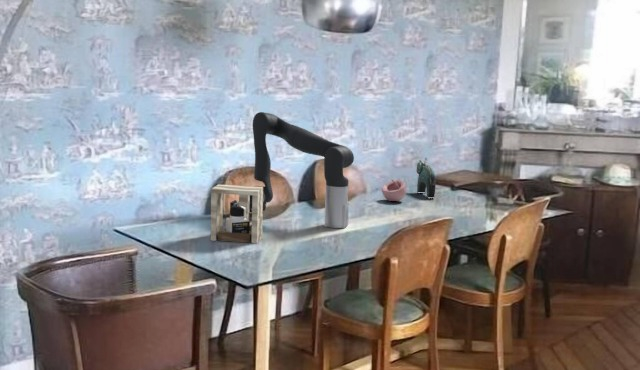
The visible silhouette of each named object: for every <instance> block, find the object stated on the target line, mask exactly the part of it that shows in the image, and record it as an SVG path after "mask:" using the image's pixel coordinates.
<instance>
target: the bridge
mask: <svg viewBox="0 0 640 370" xmlns="http://www.w3.org/2000/svg"><path fill="white" fill-rule="evenodd" d="M255 186H256V185H254V186H253V185H252V186H251V185H233V184H232V185H231V184H217V185H215V186H213V187H212V188H211V190H210V241H213V242H214V241H215V242H216V241H217V240H218V232H222V231H223V230H224V229H223V227H224V226H223V223H224V222H223V221H224V220H223V219H224V195H238V196H239V195H252V212H251V226H252V240H251V244H258V243H259V242H260V240H261V239H262V237H263V212H264V211H263V187H264V186H263V187H255Z"/></svg>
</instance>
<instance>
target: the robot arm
mask: <svg viewBox="0 0 640 370" xmlns="http://www.w3.org/2000/svg"><path fill="white" fill-rule="evenodd" d="M252 135H253V146H254V147H253V148H254V171H253V178H254V180H255V181H258V182H262V183H263V184H264V186H260V185H254V186H255V187H263V212H265V211H266V209H267V203H270V202H272V200H273V198H274V192H273V188H272V183H271V168H272V167H271V166H272V165H271V157H270V153H269V150H268V147H267V140H266V139H267V135H270V136H274V137H278V138H280V139H283V140H284V141H285V142H286V143H287V144H288V145H289V146H290V147H291V148H293V149H295V150H297V151H300V152H303V153H305V154H309V155H313V156H320V157H323V158H324V159H323V163H324V166H323V170H324V171H323V172H324V173H323V174H324V175H323V177H324V179H325V202H324V204H325V205H324V226H325V227H327V228H331V229H345V228H346V227H348V225H349V211H350V210H349V209H350V208H349V205H350V204H349V201H348V197H349V179H348V178H347V177H345V176H344V171H343V169H345V168H349V167H350V166H351V165H352V164H353V163H354V161H355V157H354V153H353V151H352V150H351V149H350V148H349V147H348V146H346V145H343V144H339V143H336V142H333V141H330V140H328V139H326V138H324V137H322V136H320V135H318V134H315V133H314V132H312V131H310V130H307V129H305V128H302V127H300V126H298V125H294V124H291V123H288V122H287V121H285V120H284V119H282V118H280V117H279V116H277V115H275V114H273V113H269V112H264V111H263V112H262V111H259V112H258V113H255V115H254V117H253V118H252ZM232 206H239V201H237V200H236V199H234V200H232V201H231V202H230V204H229V209H230V208H231V207H232ZM249 213H252V195H250V204H249Z"/></svg>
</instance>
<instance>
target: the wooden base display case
mask: <svg viewBox="0 0 640 370" xmlns="http://www.w3.org/2000/svg"><path fill="white" fill-rule="evenodd" d="M238 202H239V206H243V207H245V208H246V217H245V218H246V219H248V220H249V221H250V212H249V204H250V195H238ZM217 240H218V241H222V242H237V243H251V242H252V225H250V233H232V232H226V227H225V228H224V229H223V231H222V232H218V239H217Z"/></svg>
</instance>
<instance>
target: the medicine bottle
mask: <svg viewBox="0 0 640 370" xmlns="http://www.w3.org/2000/svg"><path fill="white" fill-rule="evenodd" d="M245 217H246V208H245V207H243V206H238V205H237V206H232V207H231V208H230V207H229V217H225V228H226V232H232V233H250V226H251V224H250V223H251V222H250V219H249V220H248V219H246V218H245Z"/></svg>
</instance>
